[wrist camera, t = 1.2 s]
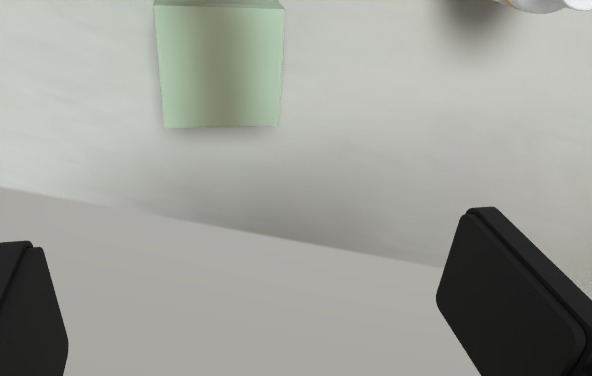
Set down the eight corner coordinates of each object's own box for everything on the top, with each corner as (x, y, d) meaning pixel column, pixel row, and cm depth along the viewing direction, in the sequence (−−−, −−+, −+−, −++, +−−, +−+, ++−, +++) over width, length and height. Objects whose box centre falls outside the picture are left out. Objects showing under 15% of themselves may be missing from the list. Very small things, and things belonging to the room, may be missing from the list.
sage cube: (265, -12, 27) (285, 9, 22) (262, 87, 30) (278, 125, 25) (158, -17, 25) (153, 5, 21) (167, 87, 29) (164, 128, 24)
